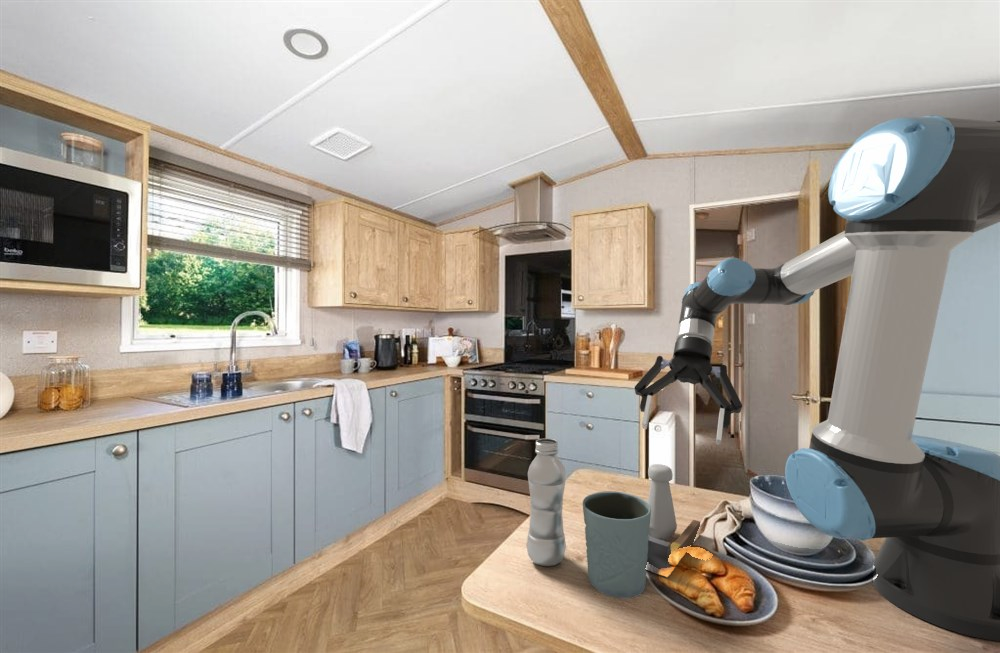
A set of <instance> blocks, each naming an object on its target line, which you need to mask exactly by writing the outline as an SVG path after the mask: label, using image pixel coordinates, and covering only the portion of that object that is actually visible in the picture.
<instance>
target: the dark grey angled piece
mask: <svg viewBox="0 0 1000 653" xmlns="http://www.w3.org/2000/svg"><path fill="white" fill-rule="evenodd" d="M699 527H700V528H701V521H699V520H696V519H693V520H692V521H691V522H690V523H689V524H688V526H687V527H686V528H685V529H684V530H683V531H682V532H681V533H680V535H679V536H678V538H677V539H676V540H675V541H672V543H671V542H668V541H667V540H666V541H663V540H660V539H657V538H654V537H651V536H650V535H649V536H648V537H649V540H648V554H647V556H648V559H647V562H649V564H651V565H653V566H654V567H656V568H658V569H661V568H667V567H670V564H669V562H668V558H669V555H670V554H671V551H672V550H674V549H679V548H683V547H687V546H690V545H692V546H693V545H694V544H693V542H694V539H695V537H696V534H697V531H698V529H699ZM694 543H695V542H694Z"/></svg>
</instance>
